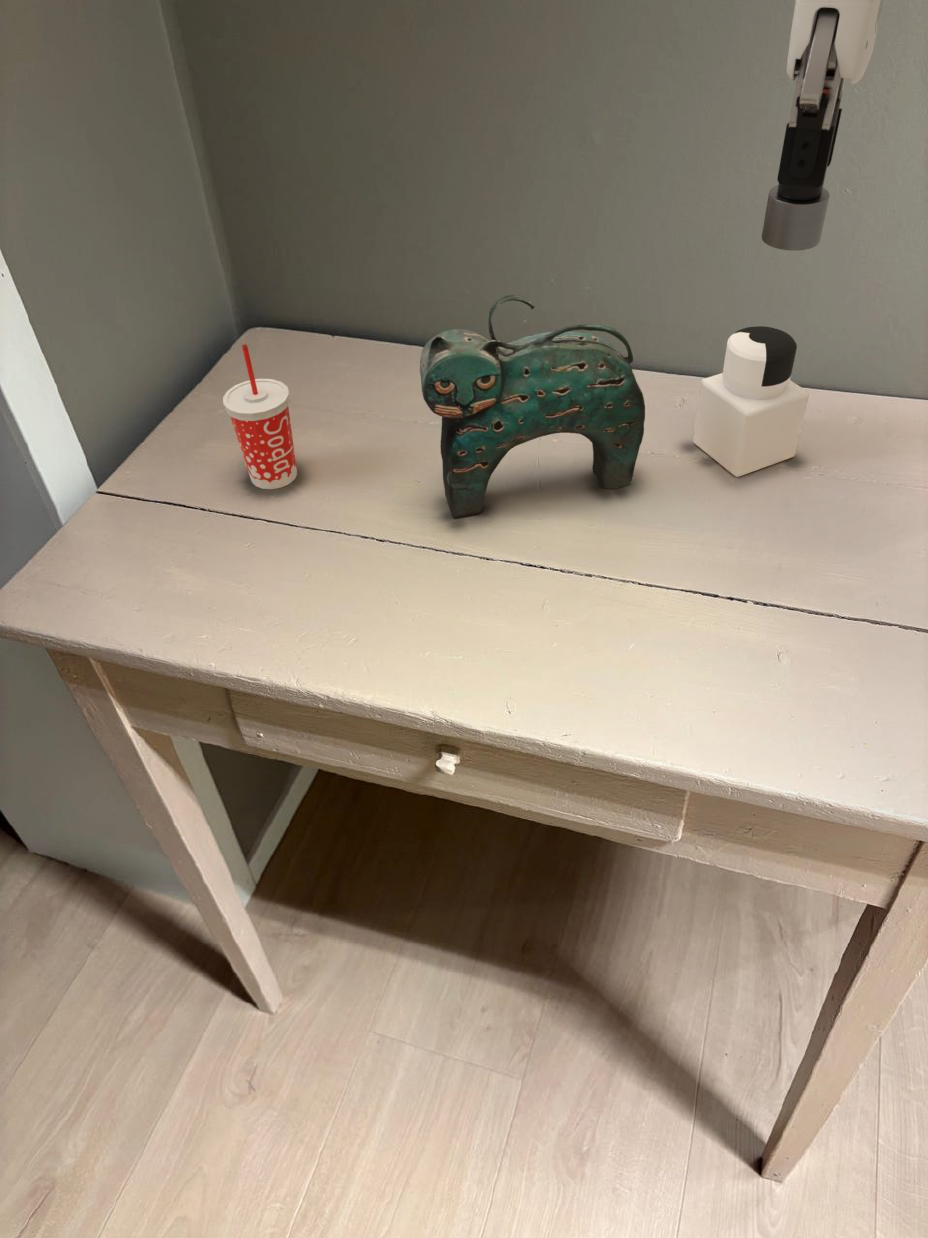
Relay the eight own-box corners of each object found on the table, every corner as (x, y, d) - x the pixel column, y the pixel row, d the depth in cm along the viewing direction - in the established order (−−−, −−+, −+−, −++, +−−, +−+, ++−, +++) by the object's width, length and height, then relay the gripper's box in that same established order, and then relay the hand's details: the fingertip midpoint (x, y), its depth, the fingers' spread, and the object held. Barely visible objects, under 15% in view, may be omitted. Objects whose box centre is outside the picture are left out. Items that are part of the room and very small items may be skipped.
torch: (823, 230, 75) (854, 85, 68) (815, 253, 73) (847, 104, 65) (766, 224, 77) (791, 81, 70) (756, 246, 74) (781, 99, 67)
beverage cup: (252, 500, 92) (219, 369, 82) (236, 468, 96) (202, 339, 86) (313, 482, 93) (287, 352, 84) (294, 451, 97) (268, 323, 88)
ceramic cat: (436, 529, 87) (418, 325, 73) (424, 488, 92) (404, 288, 78) (645, 493, 89) (665, 288, 76) (623, 455, 94) (638, 255, 80)
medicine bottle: (749, 422, 97) (769, 310, 89) (796, 457, 92) (822, 342, 84) (691, 442, 95) (705, 330, 87) (736, 479, 90) (756, 364, 82)
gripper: (918, -116, 52) (841, 223, 65) (937, -157, 63) (868, 141, 76) (777, -117, 54) (730, 211, 67) (819, -156, 65) (771, 134, 78)
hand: (804, 171), depth 71 cm, fingers closed on torch, 3 cm apart
